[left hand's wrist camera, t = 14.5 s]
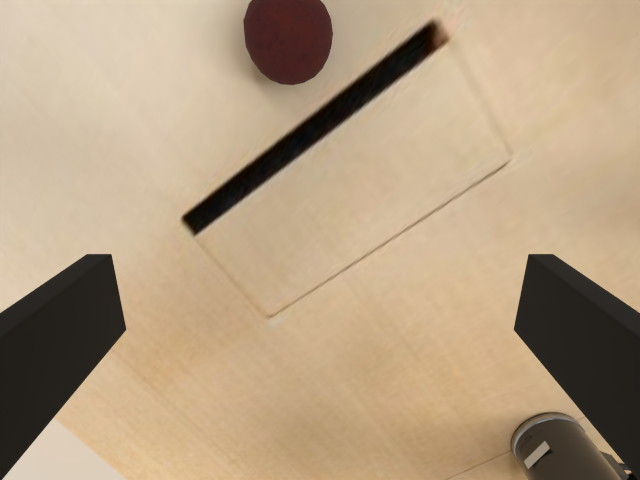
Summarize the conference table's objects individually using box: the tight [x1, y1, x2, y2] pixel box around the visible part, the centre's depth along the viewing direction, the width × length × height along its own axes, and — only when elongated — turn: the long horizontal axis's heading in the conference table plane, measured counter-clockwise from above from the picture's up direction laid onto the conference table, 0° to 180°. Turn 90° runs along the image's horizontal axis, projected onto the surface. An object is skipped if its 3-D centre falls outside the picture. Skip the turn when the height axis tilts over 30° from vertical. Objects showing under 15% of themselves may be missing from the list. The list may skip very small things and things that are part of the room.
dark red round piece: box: [244, 0, 333, 85], centre depth 33 cm, size 7×8×7 cm
